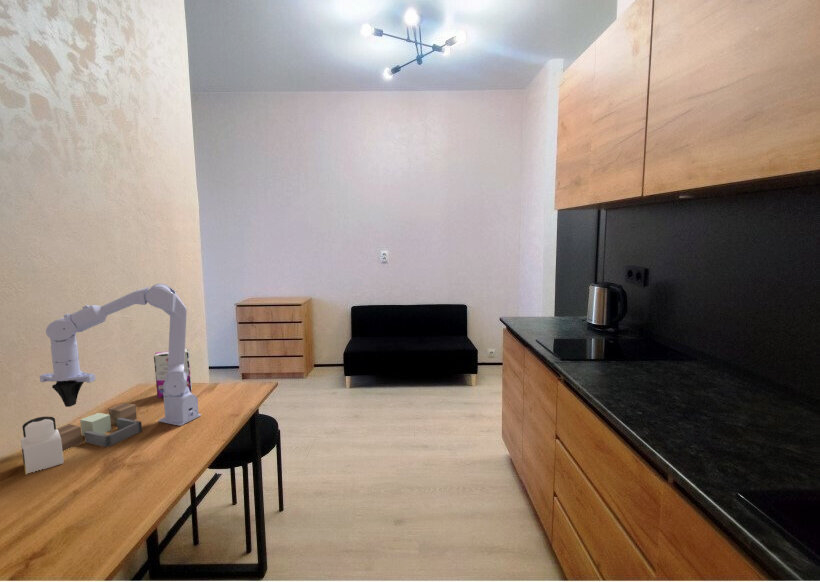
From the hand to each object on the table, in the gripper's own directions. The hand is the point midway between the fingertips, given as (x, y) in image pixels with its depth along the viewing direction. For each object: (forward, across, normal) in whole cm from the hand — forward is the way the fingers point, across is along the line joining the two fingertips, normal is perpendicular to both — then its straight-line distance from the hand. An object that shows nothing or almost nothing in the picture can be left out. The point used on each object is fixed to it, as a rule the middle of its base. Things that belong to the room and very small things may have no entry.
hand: (70, 405), depth 113 cm
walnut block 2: (+10, -6, -11) cm, 16 cm away
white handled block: (+10, -4, +14) cm, 17 cm away
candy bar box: (+10, -8, -34) cm, 37 cm away
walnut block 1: (+10, -2, +4) cm, 11 cm away
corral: (+10, -11, -1) cm, 15 cm away
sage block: (+10, -4, -3) cm, 11 cm away
